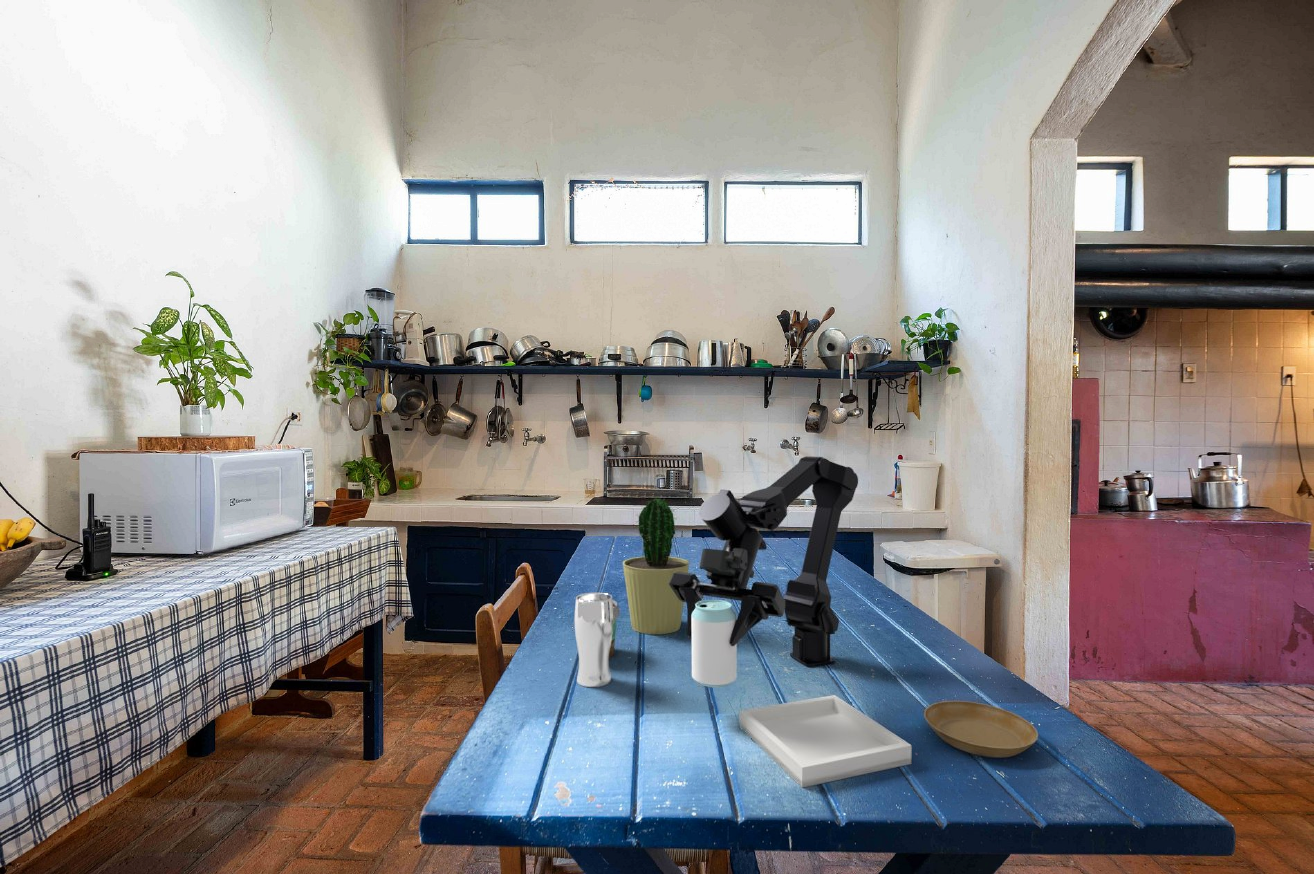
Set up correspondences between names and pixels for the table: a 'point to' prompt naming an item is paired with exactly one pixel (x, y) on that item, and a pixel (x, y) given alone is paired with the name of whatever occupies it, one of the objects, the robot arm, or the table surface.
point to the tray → (823, 740)
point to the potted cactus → (654, 573)
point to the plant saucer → (980, 728)
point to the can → (713, 643)
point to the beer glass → (593, 637)
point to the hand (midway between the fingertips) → (709, 640)
